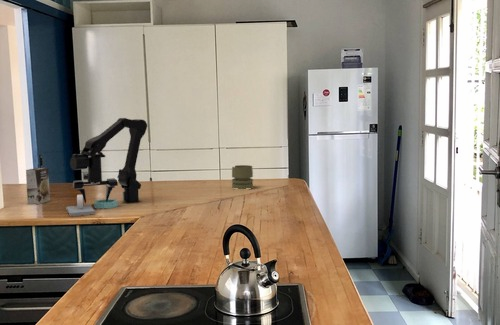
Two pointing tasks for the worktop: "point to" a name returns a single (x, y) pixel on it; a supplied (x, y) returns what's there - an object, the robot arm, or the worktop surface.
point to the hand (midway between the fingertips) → (96, 202)
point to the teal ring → (106, 203)
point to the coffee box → (37, 185)
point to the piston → (242, 176)
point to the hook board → (81, 212)
